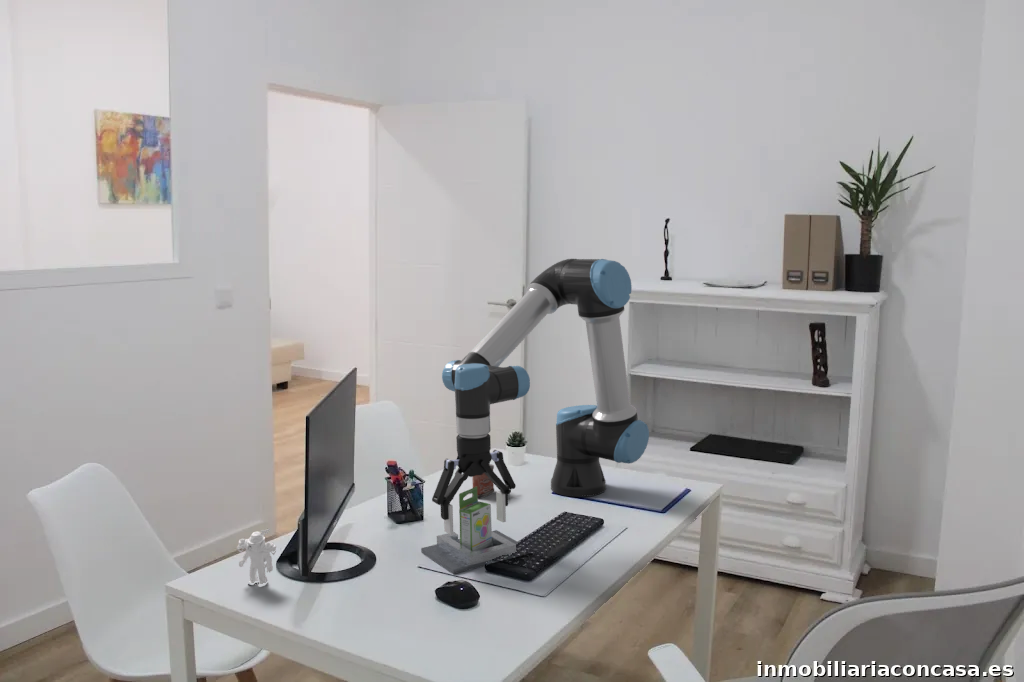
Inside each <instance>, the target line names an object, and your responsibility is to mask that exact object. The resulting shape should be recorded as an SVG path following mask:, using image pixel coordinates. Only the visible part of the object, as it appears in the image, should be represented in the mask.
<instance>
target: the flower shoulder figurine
mask: <svg viewBox="0 0 1024 682" xmlns="http://www.w3.org/2000/svg"><path fill="white" fill-rule="evenodd" d="M270 530H271V528H267V529H261V530H260V531H253V532H252V533H251V535H250V536H249V538H245V537H243V538H239V540H238V545H237V546H236V550H237V551H238V552H239V553H243V551H244V549H245V551H244V552H245V553H244V554H243V556H242V557H241V559H240V560H239V562H238V566H239V567H240V568H242V567H244V564H245V563H247V561H248V559H250V566H249V581H248V582H250V583H254V582H255V581H259V584H263V583H266V582H267V581H268V582H269V580H268V577H267V576H266V573H271V572H272V571H273V569H274V567H273V563H272V562H273V558H272V555H273V556H274V555H275V554H276V552H277V545H275V543H274V542H270V541H267V542H266V541H265V540H266V537H265V535H266V534H269V533H270ZM241 549H242V550H241ZM271 554H272V555H271ZM265 562H266V563H265ZM257 573H258V574H257Z"/></svg>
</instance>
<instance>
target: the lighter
mask: <svg viewBox="0 0 1024 682" xmlns="http://www.w3.org/2000/svg"><path fill="white" fill-rule="evenodd" d="M489 467H490V468H491V469H492V470H493V471H494V468H495V465H494V464H491V462H490V463H489ZM471 478H472V488H474V487H477V499H479V500H480V499H483V498H486V497H488V496H490V495H492V494H494V493H495V487H494V486H495V484H494V483H493V482H492V481H491V480H490V479H489V478H488V477H487V475H486V474H485V473H483V475H475V476H473V477H471ZM471 497H473V494H471Z"/></svg>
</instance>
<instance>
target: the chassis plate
mask: <svg viewBox="0 0 1024 682" xmlns="http://www.w3.org/2000/svg"><path fill="white" fill-rule="evenodd" d="M518 543H520V542H519V541H517V540H515V539H513V538H511V537H510V536H509V535H506V534H504V533H503V532H501V531H499V530H497V529H495V530H492V545H491V546H489V547H487V548H485V549H481V550H477V551H471V550H469V549H468V548H466V547H464V546H463V545H461V544H460V538H459V534H458V533H457V532H454V531H453V534H451V535H450V534H448V533H447V532H446V533H443V534H440V535H436V544H433V545H428V546H424V547H421V548H420V551H421V553H422V554H423V555H424V556H425V557H428V558H429V559H430V560H432V561H434V562H435V563H436V564H438V565H440V567H442V568H443V569H445V570H446V571H448V572H449V573H451V574H452V575H455V574H460V573H463V572H467V571H470V570H474V569H479V568H483V567H486V566H485V563H486V562H488V561H490V560H492V559H494V558H496V557H499V556H502V555H506V554H511V553H515V552H517V551H516V544H518Z"/></svg>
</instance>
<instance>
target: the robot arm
mask: <svg viewBox="0 0 1024 682" xmlns="http://www.w3.org/2000/svg"><path fill="white" fill-rule="evenodd" d="M632 287H633V285H632V279H631V276H630V273H629V272H628V270H627V269H626V267H625V266H624V265H623V264H621V263H620V262H618V261H616V260H610V259H606V258H605V259H604V258H601V259H599V258H597V259H596V258H594V259H593V258H590V259H589V258H588V259H587V258H586V259H585V258H583V259H582V258H578V259H577V258H567V259H563V260H560V261H557V262H556V263H554V264H553V265H551V266H549V267H548V268H545V270H543V271H542V272H541V273H540V274H539V275H537V276H536V277H535V278H534V279H533V280H532V281H531V282H530V283H529V284H528V285H527V287H526V288H525V294H524V295H523V296H522V297H521V298H520V299H519V300H518V301H517V303H515V304H514V305H513V306H512V307H511V309H509V311H508V312H507V313H506V314H505V315H504V316H503V317H502V318H501V319H500V320H499V321H498V322H497V323H496V324H495V325H494V326H493V327H492V328H491V330H489V331H488V333H487V334H485V335H484V337H483V338H482V339H481V340H480V341H479V342H478V343H477V344H476V345H475V346H474V347H473V348H472V349H471V350H470V351H469V353H468V354H467V355H465V356H464V357H463V358H462V359H461V360H460V359H455V360H450V361H448V362H447V363H446V364H445V365H444V368H443V370H442V373H441V380H442V383H443V385H444V387H445V388H446V389H447V390H448V391H452V392H454V395H455V396H454V397H455V426H456V427H455V428H456V429H455V430H456V434H457V436H456V451H457V457H456V459H450V458H445V459H444V462H443V469H442V473H441V475H440V478H439V481H438V483H437V485H436V488H435V490H434V493H433V495H432V497H431V501H432V502H433V503H435V504H437V505H439V506H440V518H441V519H442V520H443V521H444V523H443V526H444V532H445V533H446V534H447V533H448V534H450V535H451V534H453V532H454V507H453V504H451V502H452V500H453V499H454V497H455V495H456V494H457V493H458V492H459V489H460V488H461V487H462V485H463V483H464V482H465V481H466V480H467V479H468V478H472V477H473V476H475V475H483V473H485V474H486V475H487V477H488V478H489V479H490V480H491V481H492V482H493V484H494V486H495V487H496V488H497V489H498V490H499V491H495V498H496V499H495V500H496V520H498V521H499V522H501V523H506V522H507V518H506V517H507V516H506V515H507V513H506V507H508V505H509V495H510V494H511V493H512V490H514V489H515V488H517V487H516V486H517V485H516V483H515V481H514V479H513V477H512V476H511V473H510V470H509V468H508V467H507V465H506V463H505V461H504V453H503V452H502V451H500V450H497V449H494V450H493V451H492V452H491V449H492V448H491V446H492V445H491V435H490V433H491V405H494V404H498V403H499V404H500V403H502V402H503V403H504V402H509V401H514V400H517V399H519V398H523V397H525V396H526V395H527V394H528V392H529V391H530V387H531V382H530V380H531V378H530V375H529V373H528V371H527V370H526V369H525V368H524V367H523V366H520V365H509V366H505V367H501V365H502V364H503V362H505V361H506V359H507V358H508V357H509V356H510V354H512V353H513V352H514V351H515V349H517V347H518V346H519V345H520V344H521V343H522V342H523V341H524V340H525V339H526V338H527V336H528V335H529V334H530V333H531V332H532V331H533V330H534V329H535V328H536V327H537V326H538V325H539V324H540V322H541V321H543V319H544V318H545V317H546V316H547V315H550V314H551V315H552V314H554V313H555V312H556V311H557V310H558V309H559V308H561V307H562V306H565V305H575V306H577V311H578V312H577V313H578V314H577V315H578V317H579V318H581V319H582V320H583V321H585V326H586V327H585V329H586V333H587V334H586V335H587V341H588V349H589V355H590V362H591V363H590V365H591V370H592V371H591V372H592V377H593V378H592V379H593V384H594V385H593V386H594V394H595V401H596V404H582V405H571V406H566V407H564V408H561V409H560V410H558V412H557V413H556V423H555V426H556V427H555V429H556V431H555V434H556V464H555V467H554V469H553V470H554V471H553V474H552V477H551V479H550V489H551V491H552V492H553V493H554V494H557V495H561V496H566V497H581V498H583V497H590V496H591V497H594V496H597V495H600V494H602V493H604V492H605V491H606V485H607V482H606V478H605V475H604V471H603V468H602V466H601V463H600V459H604V460H609V461H613V462H616V463H617V464H619V463H622V464H633V463H635V462H637V461H639V460H640V459H641V458H642V456H643V455H644V453H645V452H646V449H647V446H648V444H649V440H650V439H649V438H650V430H649V427H648V425H647V423H645V421H643V420H641V419H638V410H637V408H636V407H635V406H634V405H633V404H631V401H630V393H629V385H628V377H627V369H626V361H625V352H624V344H623V338H622V337H623V336H622V329H621V320H620V318H621V317H620V316H621V315H622V314H623V313H624V311H625V306H626V305H627V304H628V302H629V301H630V299H631V295H630V294H632ZM491 461H493V463H494V464H495V465H494V466H496V469H497V471H498V472H499V473H498V474H499V475H500V476H501V478H502V479H501V478H500V477H499V476H498V475H497V474H496V473H495V472H494V469H493V470H492V469H491V468H490V467H489V463H490V464H491ZM455 470H456V471H455ZM454 471H455V473H454ZM453 474H454V476H453ZM452 477H453V478H452Z"/></svg>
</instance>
